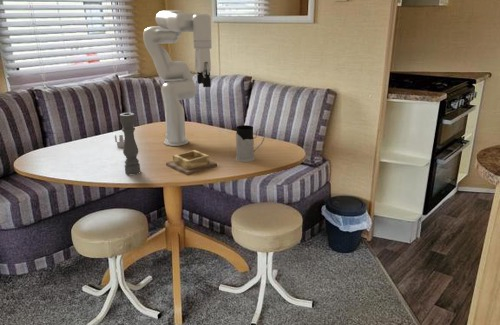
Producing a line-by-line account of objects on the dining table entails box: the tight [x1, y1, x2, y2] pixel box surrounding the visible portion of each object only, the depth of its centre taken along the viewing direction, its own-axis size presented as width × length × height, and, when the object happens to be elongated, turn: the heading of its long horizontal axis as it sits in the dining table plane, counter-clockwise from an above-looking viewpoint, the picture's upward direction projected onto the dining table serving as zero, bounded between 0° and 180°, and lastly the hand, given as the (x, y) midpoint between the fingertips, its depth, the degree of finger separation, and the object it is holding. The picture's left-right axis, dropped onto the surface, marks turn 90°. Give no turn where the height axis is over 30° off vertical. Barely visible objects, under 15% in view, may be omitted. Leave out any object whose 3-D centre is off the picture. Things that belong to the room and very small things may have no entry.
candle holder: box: [119, 112, 141, 175], centre depth 172 cm, size 6×6×25 cm
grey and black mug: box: [235, 124, 266, 163], centre depth 190 cm, size 9×14×15 cm, turn 111°
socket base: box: [165, 149, 218, 176], centre depth 182 cm, size 16×16×5 cm
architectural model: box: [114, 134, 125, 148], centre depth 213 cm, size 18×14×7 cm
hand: (204, 85), depth 183 cm, fingers open, 9 cm apart
